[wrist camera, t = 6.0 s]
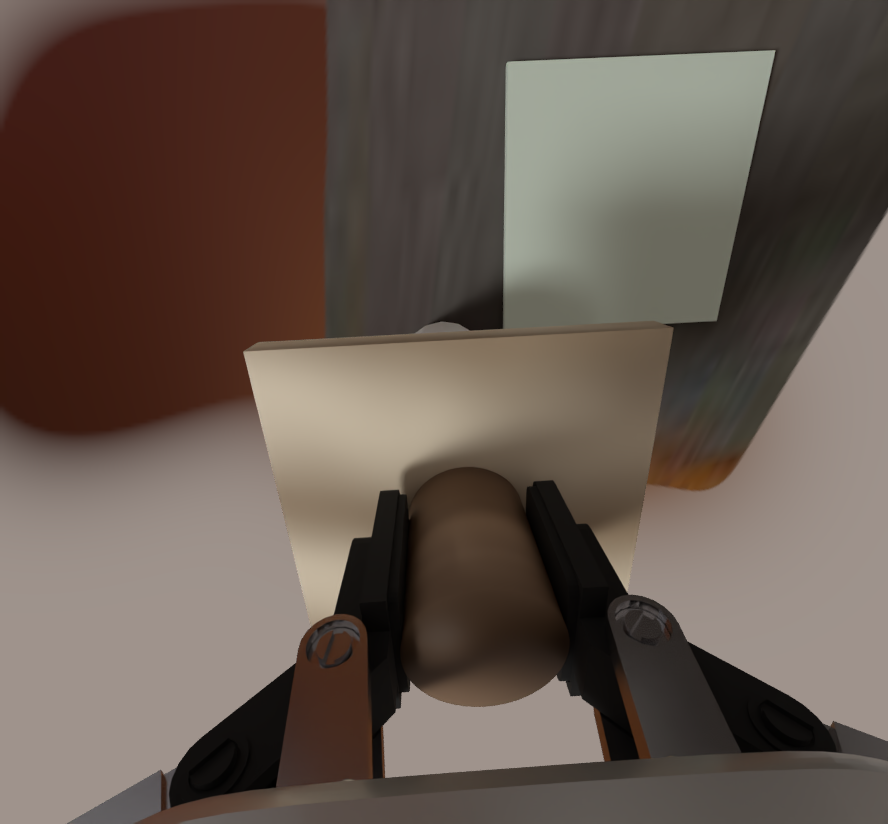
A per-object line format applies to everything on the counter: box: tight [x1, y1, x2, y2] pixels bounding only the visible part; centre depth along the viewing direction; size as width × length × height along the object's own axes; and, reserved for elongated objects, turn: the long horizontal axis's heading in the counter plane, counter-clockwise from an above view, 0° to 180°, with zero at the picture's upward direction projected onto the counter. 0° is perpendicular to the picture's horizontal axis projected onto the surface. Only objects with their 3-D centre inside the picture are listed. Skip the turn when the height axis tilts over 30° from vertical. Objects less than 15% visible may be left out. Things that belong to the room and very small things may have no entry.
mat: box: [503, 50, 775, 329], centre depth 24 cm, size 14×14×1 cm
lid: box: [244, 321, 674, 707], centre depth 11 cm, size 11×11×6 cm
